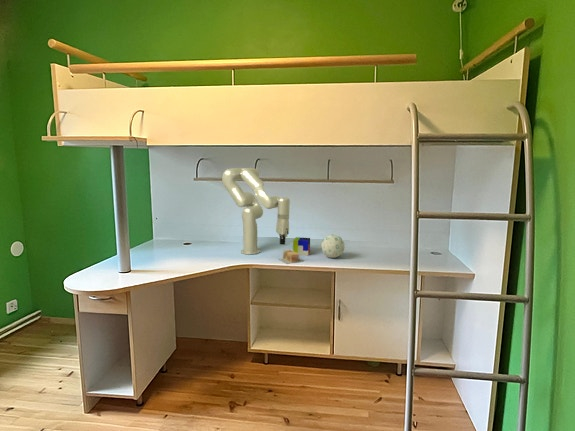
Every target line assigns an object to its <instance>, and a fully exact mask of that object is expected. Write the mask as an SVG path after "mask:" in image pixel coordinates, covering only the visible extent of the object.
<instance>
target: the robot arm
mask: <svg viewBox="0 0 575 431" xmlns="http://www.w3.org/2000/svg"><path fill="white" fill-rule="evenodd" d="M221 178H222V179H221V181H222V185H223V187H224V188H225V189H226V190H227V192H228V193H229V195H230V197H231V198H232V200H233V201H234V202H235V205H236V206H238V208H243V209H242V211H241V219H242V230H243V234H242V235H243V236H242V239H243V240H242V242H243V245H242V246H243V247H242V248H243V249H242V250H241V251H240V252H241V254H243V255H257V254H259V253H260V249H258V223H257V219H260V218H262V217H263V216H264V215H263V214H264V209H263V207H264V208H265V209H267V210H271V209H277V219H276V226H275V232H276V233H277V234H278V235H279V245H283V246H284V245H286V239H287V237H288V235H289V234H290V223H289V222H290V221H289V220H290V205H291V204H290V203H291V202H290V197H289V198H288V197H281V196H276V195H275V196H269V195H268V193H266V192H265V190H264V186H265V183H264V181H263V180H262V179H261V178H260V173H259V171H258V169H257V168H254V167H235V168H232V167H231V168H228V169H225V170H224V172H223V173H222V177H221ZM236 181H243V182H245V184H246V185H248V187H249V188H250V189H252V191H253V192H254V194H253V193H251V192H248V191H247V192H244V190H243V189H242V188H241V186H240V185H239V184H238V183H237V182H236Z"/></svg>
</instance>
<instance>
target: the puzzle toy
mask: <svg viewBox="0 0 575 431" xmlns="http://www.w3.org/2000/svg"><path fill="white" fill-rule="evenodd" d="M292 251H294V252H296V253H298V256H308V257H309V254H310V252H311V238H310V237H301V236H296V237H295V238H294V239H293V240H292Z"/></svg>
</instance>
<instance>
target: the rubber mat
mask: <svg viewBox="0 0 575 431" xmlns="http://www.w3.org/2000/svg"><path fill="white" fill-rule="evenodd" d="M278 260H279V261H280V262H282V263H284V264H286V265H289V264H295V263H303V262H305V260H302V259H301V258H298V262H292V263H291V262H289V261H287V260H286V259H284V258H279V259H278Z"/></svg>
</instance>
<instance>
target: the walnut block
mask: <svg viewBox="0 0 575 431" xmlns="http://www.w3.org/2000/svg"><path fill="white" fill-rule="evenodd" d="M282 259H286V260H287V261H289V262H291V263H290V264H293V263H292V262H297V263H299V262H298V259H299V255H298V253H296V252H294V251H293V250H292V249H288V250H287V249H286V250H285V249H284V250H283V251H282Z"/></svg>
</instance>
